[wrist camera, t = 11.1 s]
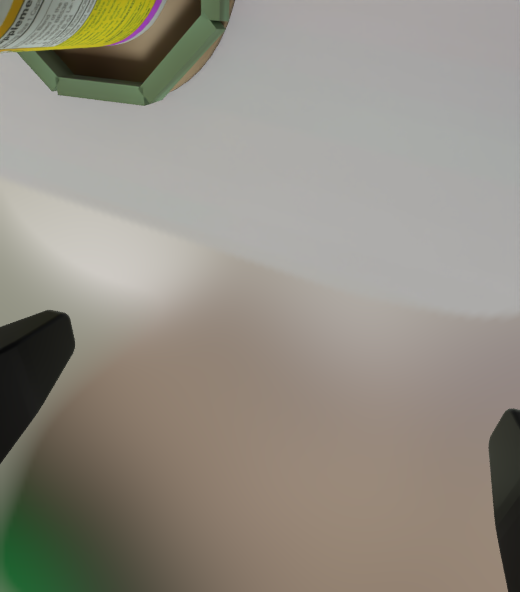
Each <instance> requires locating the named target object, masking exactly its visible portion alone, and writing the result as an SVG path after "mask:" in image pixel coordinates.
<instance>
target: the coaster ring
mask: <svg viewBox="0 0 520 592" xmlns="http://www.w3.org/2000/svg"><path fill="white" fill-rule="evenodd" d="M234 2H235V0H167V1H166V3H165V5H164V7H163V9H162V11H161V12H160V14H159V16H158V18H157V19H156V20H155V22H154V23H153V24H152V26H151V27H150V28H149V29H148V30H146V31H145V32H144V33H143V34H141V35H140V36H138V37H137V38H135V39H133V40H131V41H129V42H126V43H122V44H118V45H111V46H100V47H88V48H72V49H54V50H40V51H24V52H17V53H18V54H19V55H20V56H21V57H22V59H23V60H24V61H25V62H26V63H27V64H28V65H29V66H30V67H31V69H32V70H33V71H34V72H35V73H36V74H37V75H38V76H39V77H40V79H41V80H42V81H43V82H44V83H45V84H46V85H47V86H48V87H49V89H50V90H51V91H57V92H58V95H63V96H71V97H79V98H87V99H95V100H103V101H111V102H119V103H127V104H135V105H143V106H145V105H148V104H151V103H154V102H157V101H160V100H162V99H163V98H164V97H165V96H166V95H167V94H168V93H169V92H171V91H173V90H175V89H177V88H179V87H180V86H182V85H183V84H184V83H186V82H187V81H189V80H190V79H191V78H192V77H193V76H194V75H195V74H196V73H197V72H198V71H200V70H201V68H202V67H203V66H204V65H205V63H206V62H207V61H208V60H209V58H210V57H211V56H212V54H213V52H214V51H215V49H216V47H217V46H218V44H219V42H220V40H221V38H222V36H223V34H224V31H225V30H226V27H227V25H228V22H229V19H230V15H231V12H232V9H233V6H234Z"/></svg>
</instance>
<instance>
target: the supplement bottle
mask: <svg viewBox="0 0 520 592" xmlns="http://www.w3.org/2000/svg"><path fill="white" fill-rule="evenodd" d="M166 1H167V0H0V53H8V52H24V51H40V50H54V49H72V48H88V47H100V46H111V45H118V44H122V43H126V42H129V41H131V40H133V39H135V38H137V37H138V36H140V35H141V34H143V33H144V32H145V31H146V30H148V29H149V28H150V27H151V26H152V24H153V23H154V22H155V20H156V19H157V18H158V16H159V14H160V12H161V11H162V9H163V7H164V5H165V3H166Z"/></svg>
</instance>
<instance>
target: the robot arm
mask: <svg viewBox="0 0 520 592" xmlns="http://www.w3.org/2000/svg"><path fill="white" fill-rule="evenodd" d="M74 349H75V339H74V335H73V330H72V325H71V321H70V318H69V316H68V315H67V314H66V313H63V312H58V311H53V310H47V311H44V312H41V313H38V314H36V315H33V316H30V317H27V318H24V319H21V320H19V321H16V322H13V323H10V324H8V325H5V326H2V327H0V464H1V462H2V461H3V459H4V458H5V457H6V455H7V454H8V452H9V451H10V450H11V449H12V447H13V446H14V444H15V443H16V442H17V440H18V439H19V437H20V436H21V435H22V434H23V432H24V431H25V430H26V428H27V427H28V425H29V424H30V422H31V421H32V420H33V418H34V417H35V416H36V414H37V413H38V411H39V410H40V408H41V406H42V405H43V403H44V402H45V400H46V398H47V397H48V395H49V393H50V391H51V390H52V388H53V386H54V385H55V383H56V381H57V380H58V378H59V376H60V374H61V373H62V371H63V369H64V368H65V366H66V364H67V362H68V361H69V359H70V357H71V356H72V354H73V351H74ZM489 458H490V469H491V482H492V494H493V506H494V517H495V526H496V532H497V538H498V543H499V548H500V553H501V558H502V563H503V568H504V573H505V578H506V583H507V588H508V592H520V410H517V409H508V410H507V411H505V413H504V414H503V416H502V418H501V419H500V421H499V423H498V424H497V426H496V428H495V430H494V431H493V433H492V435H491V437H490V440H489Z"/></svg>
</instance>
